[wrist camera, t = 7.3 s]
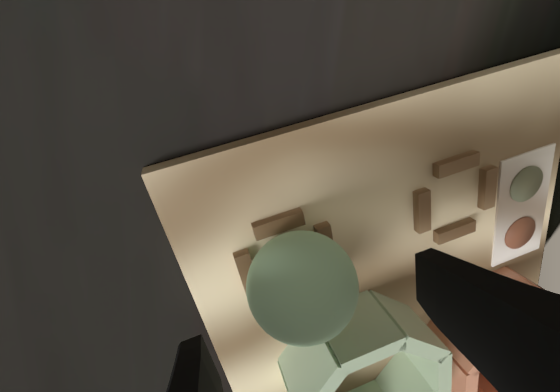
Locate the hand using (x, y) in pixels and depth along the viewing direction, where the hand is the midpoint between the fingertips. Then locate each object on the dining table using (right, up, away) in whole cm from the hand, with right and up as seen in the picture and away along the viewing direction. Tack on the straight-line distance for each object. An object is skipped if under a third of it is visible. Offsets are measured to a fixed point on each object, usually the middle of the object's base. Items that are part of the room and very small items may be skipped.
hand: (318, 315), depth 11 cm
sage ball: (-1, +1, +3) cm, 4 cm away
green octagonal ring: (+2, -4, +7) cm, 9 cm away
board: (+4, 0, +6) cm, 8 cm away
